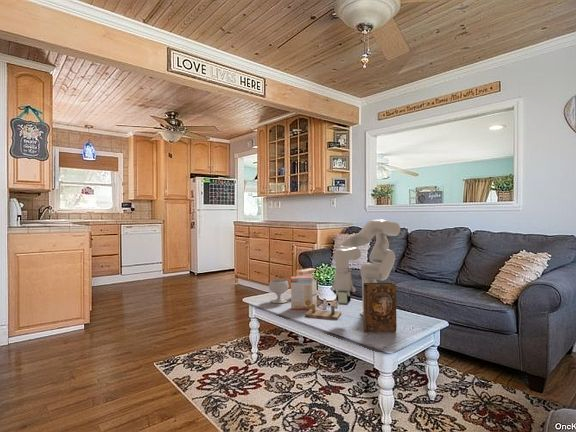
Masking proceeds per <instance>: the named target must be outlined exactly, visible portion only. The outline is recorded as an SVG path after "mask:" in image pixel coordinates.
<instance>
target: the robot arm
mask: <svg viewBox="0 0 576 432" xmlns="http://www.w3.org/2000/svg"><path fill="white" fill-rule="evenodd" d="M400 233H401V226H400V224H399V223H398V222H395V221H389V220H385V219H370V220H369V221H367V222H366V223H365V225H364V226H363V227H362V228H361V230H360V231H359V232H358V233H356V234H354V235H352V236H350V237H349V238H347V239H345V240H344V241H343V242H342V243H341V244H340V245H339V246H338V248H336V249H335V250H334V261H335V262H334V265H335V267H334V268H335V272H334V275H333V284H332V285H331V287H330V288H329V289H330V291H331V292H332V293H333V294H334V295H335V296H336V297H335V298H336V300H335V301H336V302H337V303H338V292H339V291H347V293H348V296H347V301H348V304H350V302H351V300H352V299H351V296H352V295H353V294H354V293H355V292H356V291H357V288H356V287H355V286H354V285H353V280H352V279H353V278H352V274H351V272H352V268H350V266H349V265H350V264H349V263H350V262H349V261H357V260H359V259H360V258H361V256H362V255H361V254H362V253H361V249H359V248H358V247H362V246H365V245H368V244H370V242H371V241H372V239H374V237H375V240H376V241H375V244H374V245H373V246H372V247H373V248H372V250H371V252H370V254H369V258H368V260H369V261H370V262H365V263H363V264H362V265H360V268H359V269H360V276H361V282H362V283H361V286H362V288H361V289H362V290H361V291H362V293H361V294H362V296H361V298H362V309H361V310H360V312H359V315H361V316H363V317H364V297H363V283H378V281H385V280H386V281H387V279H388V278H389V276H390V273H391V271H392V269H393V267H394V264H395V261H396V254H395V251H393V250H391V249H389V247H390V243H389V240H388V237H396V236H398V235H399V234H400ZM387 236H388V237H387Z"/></svg>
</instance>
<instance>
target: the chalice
mask: <svg viewBox="0 0 576 432" xmlns="http://www.w3.org/2000/svg"><path fill="white" fill-rule="evenodd" d="M289 288H290V286H289V282H288V280H287V279H284V278H273V279H271V280H270V281H269V283H268V289H269V290H270V292H272V293H274V294H275V295H276V296H277V298H274V299H271V300H269V301H270V303H273V304H284V303H287V302H288V299H285V298H281V296H282V295H283V294H284V293H285V292H287V291H288V290H289Z"/></svg>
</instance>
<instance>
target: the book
mask: <svg viewBox="0 0 576 432" xmlns="http://www.w3.org/2000/svg"><path fill="white" fill-rule="evenodd" d="M363 297H364V316H363V332H364V333H366V334H371V333H372V334H373V333H374V334H377V333H378V334H382V333H385V334H386V333H396V332H397V327H398V326H397V286H396V284H393V282H377V283H363Z"/></svg>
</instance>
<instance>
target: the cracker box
mask: <svg viewBox="0 0 576 432" xmlns="http://www.w3.org/2000/svg"><path fill="white" fill-rule="evenodd" d="M290 295H291V296H290V299H291V300H290V301H291V302H290V303H291V306H290V307H291V310H307V311H309V310H310V309H312V304H314V300H313V299H314V295H313V286H312V276H297V275H296V276H291V278H290Z"/></svg>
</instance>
